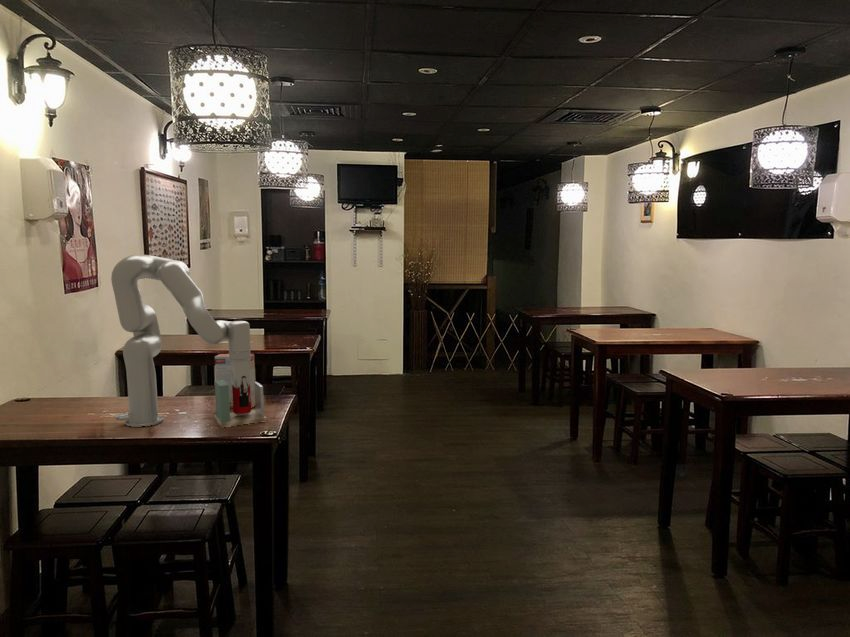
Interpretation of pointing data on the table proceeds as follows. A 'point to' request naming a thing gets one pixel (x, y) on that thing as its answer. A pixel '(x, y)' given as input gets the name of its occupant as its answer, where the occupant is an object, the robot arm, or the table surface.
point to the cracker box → (225, 374)
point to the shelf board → (241, 419)
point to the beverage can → (236, 407)
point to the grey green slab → (222, 400)
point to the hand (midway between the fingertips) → (241, 403)
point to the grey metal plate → (259, 399)
